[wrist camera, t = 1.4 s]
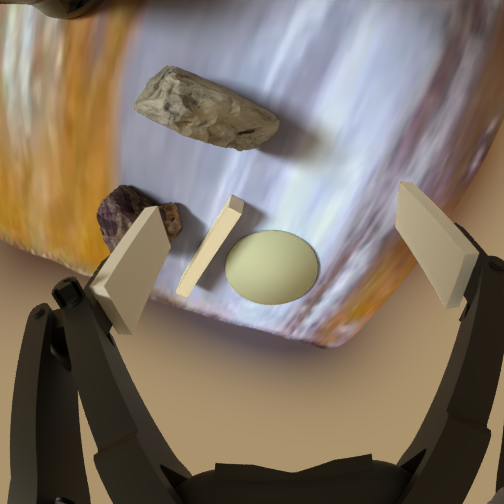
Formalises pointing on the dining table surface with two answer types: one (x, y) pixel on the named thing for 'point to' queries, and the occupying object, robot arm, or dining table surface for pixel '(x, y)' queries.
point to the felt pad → (271, 267)
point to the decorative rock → (205, 110)
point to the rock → (131, 215)
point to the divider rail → (210, 244)
